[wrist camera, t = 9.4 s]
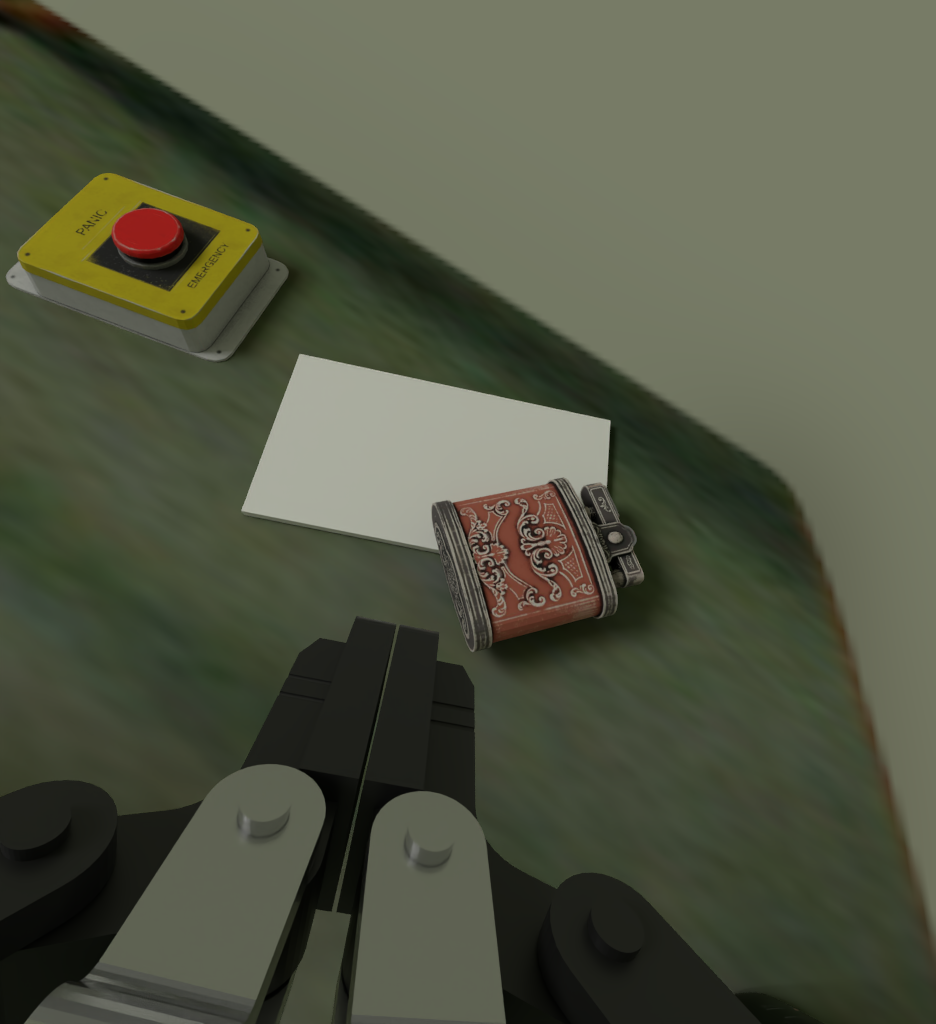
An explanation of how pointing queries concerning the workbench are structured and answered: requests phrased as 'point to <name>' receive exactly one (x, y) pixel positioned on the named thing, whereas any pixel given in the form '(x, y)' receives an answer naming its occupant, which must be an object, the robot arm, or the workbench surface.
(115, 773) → the workbench surface
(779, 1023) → the supplement bottle
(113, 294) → the emergency button
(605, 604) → the lighter
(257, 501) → the mat
